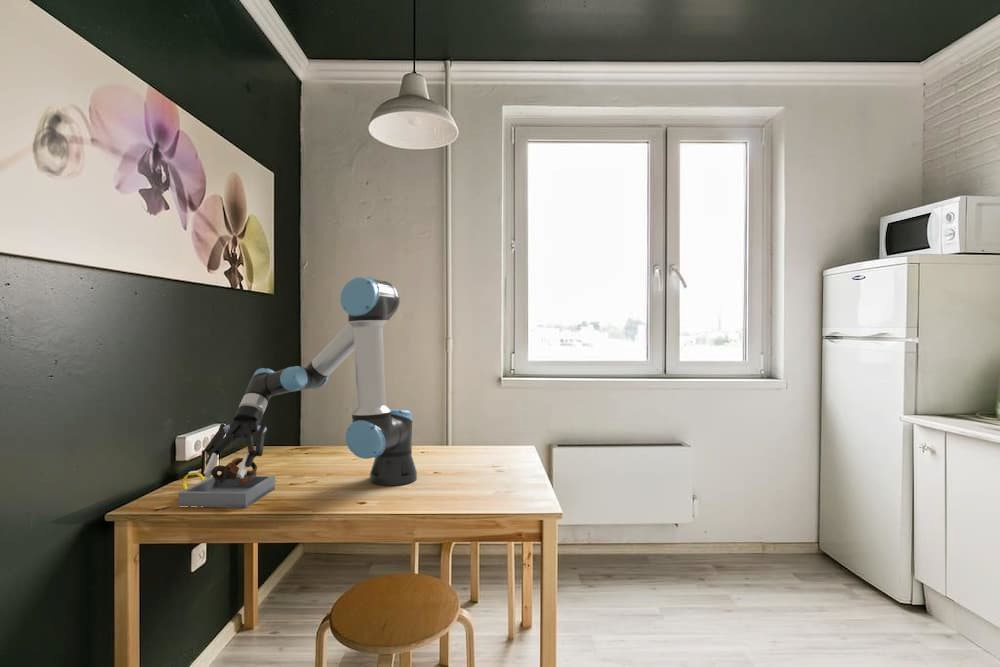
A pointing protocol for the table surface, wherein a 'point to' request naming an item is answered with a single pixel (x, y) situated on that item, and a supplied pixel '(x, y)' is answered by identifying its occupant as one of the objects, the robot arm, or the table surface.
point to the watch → (192, 474)
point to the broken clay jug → (233, 472)
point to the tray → (226, 492)
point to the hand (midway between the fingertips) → (223, 475)
